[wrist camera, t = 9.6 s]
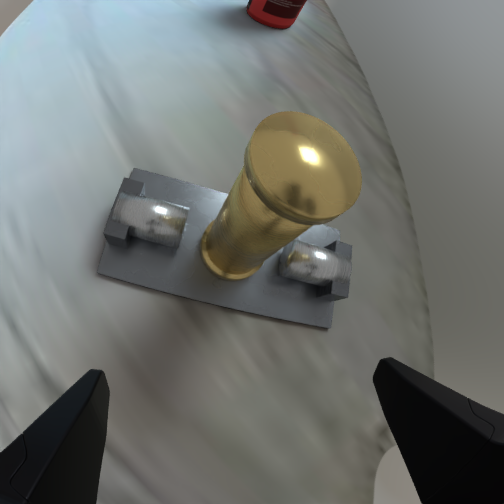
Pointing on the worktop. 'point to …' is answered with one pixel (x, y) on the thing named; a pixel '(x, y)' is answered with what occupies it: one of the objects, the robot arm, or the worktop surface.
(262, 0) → the canned food
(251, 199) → the gold flanged cylinder
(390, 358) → the robot arm
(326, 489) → the worktop surface
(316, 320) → the shaft bed
